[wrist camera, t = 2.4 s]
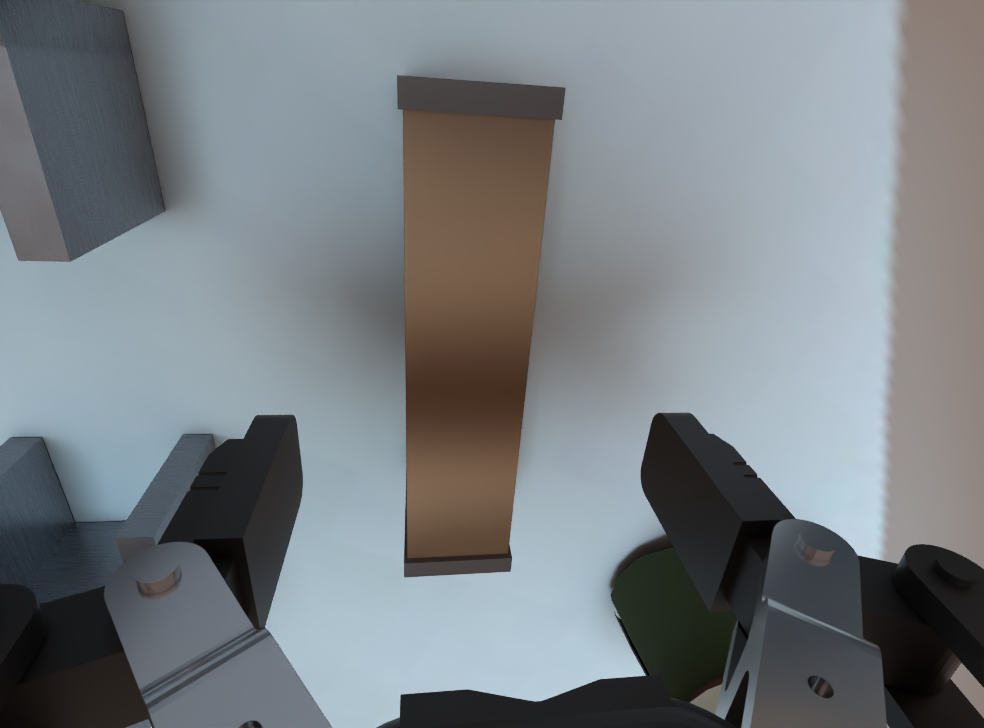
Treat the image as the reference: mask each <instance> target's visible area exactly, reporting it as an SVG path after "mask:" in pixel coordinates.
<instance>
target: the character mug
mask: <svg viewBox="0 0 984 728" xmlns="http://www.w3.org/2000/svg"><path fill="white" fill-rule="evenodd" d="M611 598H612V601H613V603H614V605H615V607H616V610H617V612H618V614H619V616H620V618H621V619H620V618H618V617H617V616H616V614H615V616H616V618H617V620H618V622H619V624H620V626H621V628H622V630H623V632H624V635H625V637H626V639H627V641H628V643H629V645H630V647H631V649H632V651H633V653H634V655H635V656H636V658H637V660H638V662H639V664H640V665H641V667H642V669H643V671H644V673H645V675H646V676H651V675H661V677H662V679H663V682H664V684H665V686H666V689H667V691H668V694H669V696H670V697H671V698H676V699H679V700H682V701H685V702H689V703H692V704H694V705H696V706H699V707H701V708H703V709H706V710H708V711H710V712H711V713H713V714H715V713H716V710H717V706H718V701H719V696H720V692H721V687H722V682H723V677H724V672H725V668H726V663H727V658H728V653H729V648H730V643H731V639H732V634H733V630H734V627H735V625H736V622H737V620H738V618H737V617H736V615H735V613H734V612H733V611H722V612H709V610H708V608H707V606H706V605H705V603H704V601H703V599H702V597H701V596H700V594H699V592H698V590H697V588H696V586H695V585H694V583H693V581H692V579H691V577H690V576H689V574H688V572H687V570H686V568H685V567H684V565H683V563H682V561H681V559H680V557H679V556H678V554H677V552H676V550H675V548H674V547H672V548H668V549H664V550H661V551H657V552H654V553H650V554H647V555H643V556H640V557H639V558H638V559H637V560H636V561H634V562H633V563H632V564H631V565H630V566H629V567H628V568H627V569H625V570H624V571H623V572H622V573H621V574H620V575H619V577H618V579H617V581H616V584H615V586H614V588H613V590H612V592H611ZM614 612H615V611H614Z"/></svg>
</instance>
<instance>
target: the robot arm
mask: <svg viewBox="0 0 984 728" xmlns="http://www.w3.org/2000/svg"><path fill="white" fill-rule="evenodd" d="M198 473H199V475H198V476H196V478H195V479H194V481H193V483H192V485H191V486H190V491H188V492H187V493H186V495H185V497H184V499H183V500H182V502H181V504H180V505H179V507H178V509H177V511H176V512H175V514H174V516H173V518H172V519H171V521H170V523H169V525H168V526H167V528H166V530H165V532H164V533H163V535H162V537H161V539H160V540H159V542H158V544H157V546H153V547H151V548H148V549H145V550H143V551H141V552H139V553H137V554H136V555H134V556H132V557H131V558H129V559H128V560H126V561H125V562H124V563H123V564H121V565H120V566H119V567H118V568H117V569H116V570H115V571H114V573H113V574H112V575H111V576H110V578H109V580H108V581H107V583H106V585H105V586H102V587H99V588H96V589H93V590H90V591H86V592H82V593H79V594H75V595H71V596H68V597H64V598H60V599H57V600H53V601H49V602H46V603H42V604H39V603H38V600H37V598H36V596H35V594H34V593H33V591H32V590H30V589H29V588H27V587H25V586H22V585H18V584H0V728H126V727H128V726H131V725H134V724H137V723H139V722H142V721H145V720H147V719H149V721H150V724H151V726H152V728H332V726H331V725H330V723H329V722H328V720H327V719H326V717H325V716H324V714H323V713H322V711H321V709H320V708H319V706H318V705H317V703H316V702H315V700H314V699H313V697H312V696H311V694H310V693H309V691H308V690H307V688H306V686H305V685H304V683H303V682H302V680H301V679H300V677H299V676H298V674H297V673H296V671H295V670H294V668H293V667H292V665H291V663H290V662H289V660H288V659H287V657H286V656H285V654H284V653H283V651H282V650H281V648H280V647H279V645H278V643H277V642H276V640H275V639H274V637H273V636H272V635H271V633H270V632H269V631H268V630H267V629H266V628H265V625H266V621H267V618H268V614H269V611H270V607H271V604H272V600H273V597H274V593H275V590H276V586H277V583H278V579H279V576H280V572H281V569H282V565H283V562H284V558H285V555H286V551H287V548H288V544H289V541H290V537H291V534H292V530H293V527H294V524H295V520H296V517H297V513H298V510H299V506H300V502H301V497H302V487H303V475H302V465H301V456H300V448H299V439H298V430H297V423H296V419H295V416H294V415H257V416H255V417H254V419H253V421H252V423H251V425H250V427H249V429H248V431H247V433H246V435H245V437H244V439H228V440H227V441H225V442H224V443H223V444H222V445H220V446H219V447H218V448H216V449H215V450H214V451H213V452H211V453H210V454H209V455H208V457H207V458H206V460H205V462H204V464H203V465H202V467H201V469H200V471H199V472H198ZM641 484H642V488H643V491H644V494H645V496H646V498H647V500H648V501H649V503H650V505H651V507H652V509H653V510H654V512H655V514H656V516H657V518H658V519H659V521H660V523H661V525H662V527H663V529H664V530H665V532H666V534H667V536H668V538H669V539H670V541H671V543H672V545H673V547H674V548H675V550H676V552H677V554H678V556H679V557H680V559H681V561H682V563H683V565H684V567H685V568H686V570H687V572H688V574H689V576H690V577H691V579H692V581H693V583H694V585H695V586H696V588H697V590H698V592H699V594H700V596H701V597H702V599H703V601H704V603H705V605H706V606H707V608H708V610H709V612H722V611H733V612H734V613H735V615H736V617H737V618H738V620H737V622H736V625H735V627H734V630H733V634H732V639H731V643H730V648H729V653H728V658H727V663H726V668H725V672H724V677H723V682H722V687H721V692H720V696H719V701H718V706H717V710H716V713H715V714H713V713H711V712H710V711H708V710H706V709H703V708H701V707H699V706H696V705H694V704H692V703H689V702H685V701H682V700H679V699H676V698H671V697H670V696H669V694H668V691H667V689H666V686H665V684H664V682H663V679H662V677H661V675H651V676H638V677H625V678H612V679H600V680H597V681H594V682H592V683H589V684H586V685H584V686H581V687H578V688H576V689H573V690H571V691H568V692H565V693H563V694H560V695H557V696H555V697H552V698H549V699H547V700H544V701H538V702H534V701H527V700H522V699H516V698H511V697H506V696H500V695H495V694H489V693H484V692H478V691H473V690H455V691H442V692H429V693H416V694H403V695H401V701H400V718H397V719H395V720H392V721H390V722H387V723H385V724H383V725H381V726H379V727H377V728H887V724H888V726H889V727H890V728H984V718H983V717H982V716H981V715H980V714H979V712H978V711H977V710H976V709H975V708H974V706H973V705H972V704H971V703H970V702H969V700H968V699H967V698H966V697H965V696H964V695H963V693H962V692H961V691H960V690H959V688H958V687H957V686H956V685H955V684H954V683H953V681H952V680H951V679H950V678H951V677H952V675H953V674H954V672H955V671H956V670H957V668H958V667H959V665H960V664H961V663H963V665H965V667H966V668H967V669H968V670H969V671H970V672H971V674H972V675H973V676H974V677H975V678H976V679H977V680H978V682H979V683H980V684H981V685H982V686H983V687H984V569H982V568H981V567H980V566H978V565H977V564H975V563H974V562H972V561H971V560H969V559H967V558H965V557H963V556H961V555H959V554H957V553H955V552H953V551H950V550H947V549H944V548H941V547H937V546H933V545H925V544H920V545H913V546H911V547H909V548H908V549H907V550H906V551H905V553H904V555H903V557H902V559H901V561H900V562H899V564H896V563H891V562H886V561H882V560H877V559H872V558H867V557H862V556H857V554H856V552H855V551H854V549H853V548H852V547H851V546H850V545H849V544H848V543H847V542H846V541H845V540H844V539H843V538H842V537H840V536H839V535H837V534H836V533H834V532H833V531H831V530H829V529H827V528H825V527H823V526H821V525H818V524H816V523H813V522H810V521H805V520H799V519H795V517H794V516H793V515H792V514H791V513H790V512H789V510H788V509H787V508H786V507H785V506H784V505H783V504H782V502H781V501H780V500H779V499H778V498H777V497H776V496H775V494H774V493H773V492H772V491H771V490H770V489H769V488H768V486H767V485H766V484H765V483H764V482H763V481H762V479H761V478H757V474H756V473H755V471H754V470H753V469H752V468H751V467H750V466H749V465H746V461H745V460H744V459H743V458H742V457H741V455H740V454H739V453H738V452H737V451H736V450H735V448H734V447H733V446H731V445H729V444H728V443H726V442H725V441H723V440H722V439H720V438H719V437H717V436H716V435H714V434H709V433H708V432H707V431H706V430H705V429H704V427H703V426H702V425H701V424H700V423H699V421H698V420H697V419H696V418H695V417H694V416H693V415H692V414H691V413H657V414H656V415H655V416H654V418H653V420H652V424H651V428H650V432H649V436H648V441H647V445H646V449H645V453H644V458H643V462H642V466H641Z"/></svg>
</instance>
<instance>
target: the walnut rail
mask: <svg viewBox="0 0 984 728" xmlns="http://www.w3.org/2000/svg"><path fill="white" fill-rule="evenodd" d="M397 88H398V109H403V156H404V257H405V358H406V459H407V468H406V508H405V549H404V577H418V576H436V575H455V574H473V573H492V572H510V571H511V562H512V556H511V551H510V546H509V539H510V530H511V521H512V512H513V502H514V493H515V484H516V475H517V465H518V456H519V447H520V438H521V428H522V419H523V410H524V401H525V392H526V382H527V373H528V364H529V355H530V345H531V336H532V327H533V318H534V308H535V299H536V290H537V281H538V271H539V262H540V253H541V244H542V235H543V225H544V216H545V207H546V198H547V188H548V179H549V170H550V161H551V151H552V142H553V133H554V124H555V119H558V120H562V114H563V105H564V96H565V88H562V87H548V86H534V85H521V84H507V83H494V82H480V81H467V80H453V79H439V78H426V77H412V76H399V75H397Z"/></svg>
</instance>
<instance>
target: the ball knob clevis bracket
mask: <svg viewBox="0 0 984 728" xmlns="http://www.w3.org/2000/svg"><path fill="white" fill-rule="evenodd" d="M0 209H1V212H2V214H3V217H4V220H5V223H6V226H7V229H8V232H9V235H10V237H11V240H12V243H13V246H14V249H15V252H16V255H17V258H18V260H20V261H62V262H71V261H73V260H74V259H76V258H78V257H80V256H82V255H84V254H86V253H88V252H89V251H91V250H93V249H95V248H97V247H99V246H101V245H103V244H105V243H106V242H108V241H110V240H112V239H114V238H116V237H118V236H120V235H121V234H123V233H125V232H127V231H129V230H131V229H133V228H135V227H137V226H138V225H140V224H142V223H144V222H146V221H148V220H150V219H152V218H153V217H155V216H157V215H159V214H161V213H163V212H165V209H164V204H163V200H162V195H161V190H160V185H159V181H158V176H157V171H156V166H155V162H154V157H153V152H152V147H151V143H150V138H149V133H148V128H147V124H146V119H145V114H144V109H143V105H142V100H141V95H140V90H139V86H138V81H137V76H136V71H135V67H134V62H133V57H132V52H131V48H130V43H129V38H128V33H127V29H126V24H125V19H124V14H123V11H120V10H116V9H111V8H107V7H103V6H98V5H94V4H90V3H85V2H81V1H77V0H0ZM214 450H215V447H214V442H213V437H212V434H207V435H182V436H181V438H180V440H179V441H178V443H177V444H176V446H175V447H174V449H173V450H172V452H171V453H170V455H169V456H168V458H167V459H166V461H165V462H164V464H163V466H162V467H161V469H160V470H159V472H158V473H157V475H156V476H155V478H154V479H153V481H152V482H151V484H150V485H149V487H148V489H147V490H146V492H145V493H144V495H143V496H142V498H141V499H140V501H139V502H138V504H137V505H136V507H135V508H134V510H133V511H132V513H131V515H130V516H129V518H128V519H127V521H119V522H93V523H75V522H74V520H73V517H72V514H71V512H70V509H69V507H68V504H67V501H66V499H65V496H64V494H63V491H62V489H61V486H60V483H59V481H58V478H57V476H56V473H55V470H54V468H53V465H52V463H51V460H50V458H49V455H48V452H47V450H46V447H45V445H44V442H43V439H42V437H36V438H9V439H8V440H7V441H6V442H5V443H4V444H2V445H1V446H0V584H18V585H22V586H25V587H27V588H29V589H30V590H32V591H33V593H34V594H35V596H36V598H37V600H38V603H39V604H42V603H46V602H49V601H53V600H57V599H60V598H64V597H68V596H71V595H75V594H79V593H82V592H86V591H90V590H93V589H96V588H99V587H102V586H105V585H106V583H107V581H108V580H109V578H110V576H111V575H112V574H113V573H114V571H115V570H116V569H117V568H118V567H119V566H120V565H121V564H123V563H124V562H125V561H126V560H128V559H129V558H131V557H132V556H134V555H136V554H137V553H139V552H141V551H143V550H145V549H148V548H151V547H153V546H157V544H158V542H159V540H160V539H161V537H162V535H163V533H164V532H165V530H166V528H167V526H168V525H169V523H170V521H171V519H172V518H173V516H174V514H175V512H176V511H177V509H178V507H179V505H180V504H181V502H182V500H183V499H184V497H185V495H186V493H187V492H188V491H190V486H191V485H192V483H193V481H194V479H195V478H196V476H198V475H199V473H198V472H199V471H200V469H201V467H202V465H203V464H204V462H205V460H206V458H207V457H208V455H209V454H210V453H211V452H213V451H214ZM126 728H151V724H150V721H149V719H147V720H145V721H142V722H139V723H137V724H134V725H131V726H128V727H126Z"/></svg>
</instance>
